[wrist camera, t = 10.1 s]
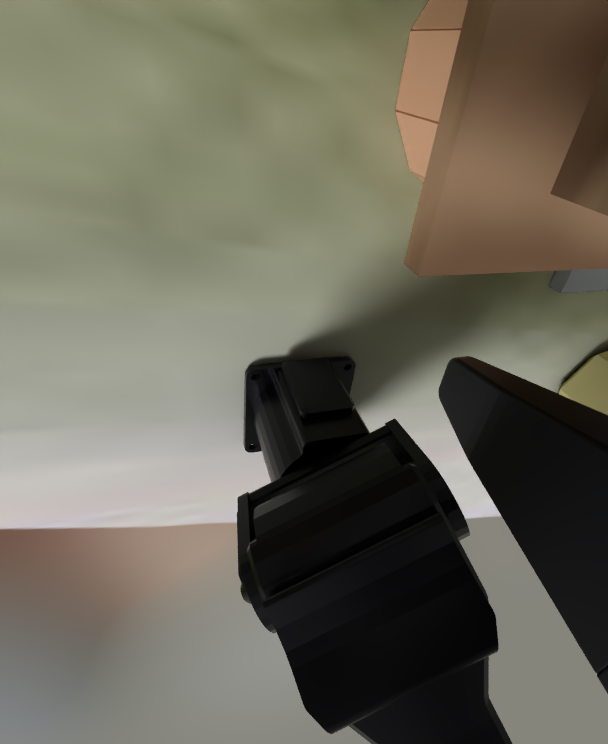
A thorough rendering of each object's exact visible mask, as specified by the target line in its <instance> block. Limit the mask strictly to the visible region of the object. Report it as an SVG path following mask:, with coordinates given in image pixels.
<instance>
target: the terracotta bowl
mask: <svg viewBox="0 0 608 744" xmlns="http://www.w3.org/2000/svg"><path fill="white" fill-rule="evenodd" d="M467 4H468V0H429V1H428V3H427V5H426V6H425V8H424V9H423V11H422V12H421V14H420V16H419V17H418V19H417V20H416V22H415V24H414V25H413V27H412V28H411V29H412V30H413V31H410V36H409V42H408V47H407V52H406V57H405V63H404V68H403V73H402V78H401V84H400V89H399V94H398V99H397V105H396V110H397V111H396V115H397V119H398V124H399V128H400V132H401V136H402V140H403V144H404V148H405V152H406V157H407V161H408V165H409V169H410V171H411V172H412V173H413V174H414V175H415V176H416V177H417V178H418V179H419V180H421V181H422V182H423V183H424V179H425V175H426V171H427V167H428V163H429V159H430V155H431V151H432V146H433V142H434V138H435V134H436V130H437V126H438V122H439V118H440V114H441V110H442V106H443V102H444V97H445V93H446V89H447V85H448V81H449V77H450V73H451V69H452V65H453V61H454V57H455V53H456V48H457V44H458V40H459V36H460V32H461V28H462V24H463V20H464V16H465V12H466V8H467Z"/></svg>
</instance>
